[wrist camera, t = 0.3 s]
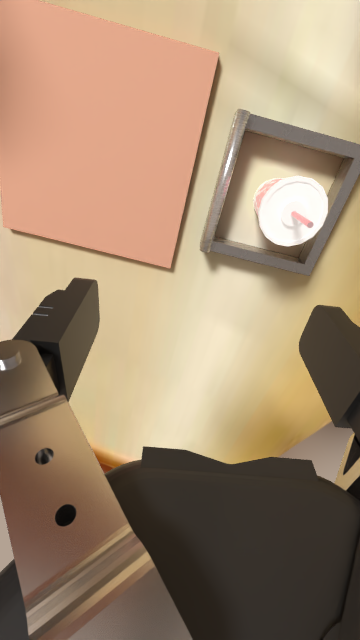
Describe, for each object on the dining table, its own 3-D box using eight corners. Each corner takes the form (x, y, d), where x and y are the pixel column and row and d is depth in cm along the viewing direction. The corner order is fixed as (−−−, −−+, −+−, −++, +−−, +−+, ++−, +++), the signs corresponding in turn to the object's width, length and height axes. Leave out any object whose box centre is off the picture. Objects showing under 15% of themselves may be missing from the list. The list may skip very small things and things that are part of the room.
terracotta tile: (-8, -10, 27) (-16, -16, 26) (218, 55, 28) (219, 52, 27) (7, 225, 38) (3, 226, 37) (170, 265, 39) (170, 268, 38)
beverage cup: (244, 226, 36) (264, 263, 24) (249, 171, 33) (274, 181, 21) (295, 226, 36) (342, 263, 23) (304, 169, 33) (363, 179, 20)
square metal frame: (235, 113, 30) (238, 108, 27) (360, 148, 31) (378, 147, 28) (200, 242, 37) (199, 251, 34) (303, 268, 38) (312, 279, 35)
